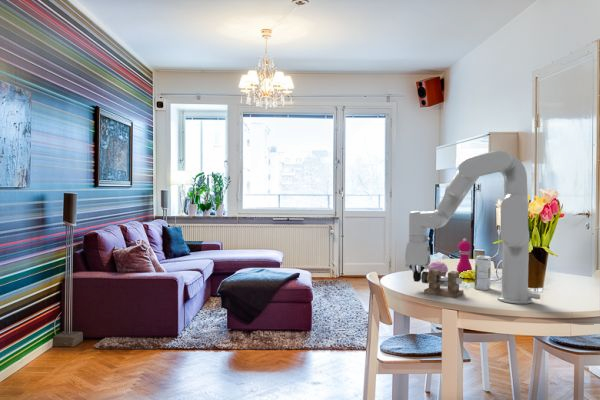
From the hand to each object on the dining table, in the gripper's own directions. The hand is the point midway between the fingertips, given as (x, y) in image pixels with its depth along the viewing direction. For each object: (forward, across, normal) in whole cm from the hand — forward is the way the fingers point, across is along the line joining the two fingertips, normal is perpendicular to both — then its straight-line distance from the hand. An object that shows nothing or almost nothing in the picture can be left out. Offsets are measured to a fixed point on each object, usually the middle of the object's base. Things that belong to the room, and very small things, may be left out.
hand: (417, 281), depth 207 cm
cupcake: (+4, -2, -24) cm, 24 cm away
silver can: (+4, -23, -21) cm, 31 cm away
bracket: (+4, -11, 0) cm, 11 cm away
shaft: (+1, -11, 0) cm, 11 cm away
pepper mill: (+4, -9, -44) cm, 45 cm away
